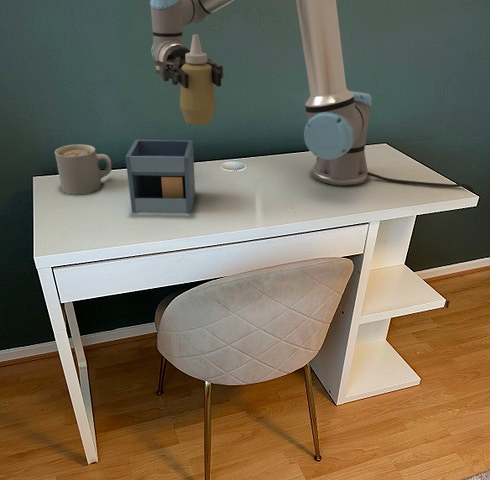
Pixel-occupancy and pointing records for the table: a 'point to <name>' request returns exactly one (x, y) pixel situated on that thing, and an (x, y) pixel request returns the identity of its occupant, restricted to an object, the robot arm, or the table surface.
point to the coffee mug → (80, 168)
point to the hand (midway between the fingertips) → (203, 80)
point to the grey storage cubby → (159, 174)
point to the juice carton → (173, 186)
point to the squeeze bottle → (197, 87)
